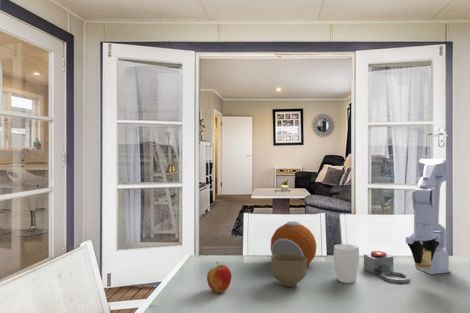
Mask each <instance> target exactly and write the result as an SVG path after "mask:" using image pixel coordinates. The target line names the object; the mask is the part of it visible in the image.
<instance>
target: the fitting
mask: <svg viewBox="0 0 470 313" xmlns="http://www.w3.org/2000/svg"><path fill="white" fill-rule="evenodd" d="M414 267H415V268H416V267H417V268H420V269H427V270H428V269H432V265H431V250H429V249H425V248H424V249H423V253H422V261H421V264H418V263H415V262H414ZM417 268H416V269H417ZM420 269H419V270H420Z"/></svg>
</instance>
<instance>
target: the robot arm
mask: <svg viewBox="0 0 470 313" xmlns="http://www.w3.org/2000/svg"><path fill="white" fill-rule="evenodd" d="M448 171H449V162H448V160H447V158H420V159H419V160H418V172H419V176H420V178H419V179H418V182H417V185H416V188H414V189H412V194H411V195H412V196H411V199H412V200H411V202H412V209H413V210H414V211H413V233H411V235H409V236H406V237H405V243H406V244H407V245H408V248H409V249H410V252H411V255H412V257H413V262H414V264H415V263H418V264H421V261H422V253H423V249H424V248H425V249H429V250H431V265H432V269H428V270H427V269H420V268H417V267H415V269H418V270H419V271H422V272H425V273H427V274H430V275H437V274H444V273H451V272H452V271H451V270H450V264H449V263H450V255H449V252H448V250H447V242H448V241H447V240H448V238H447V236H448V235H447V230H446V228H445V227H444V226H443V225H441V224H440V221H439V219H440V199H441V198H440V197H441V196H440V195H441V187H442V184H443V183H444V182H446V181H447V178H448V173H449V172H448Z"/></svg>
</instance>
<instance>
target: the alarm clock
mask: <svg viewBox="0 0 470 313" xmlns="http://www.w3.org/2000/svg"><path fill="white" fill-rule="evenodd" d="M270 252H271V253H270V254H271V256H272V255H276V254H294V255H300V256H304V257H306V258H307V262H306V268H307V267H308V266H309V265H310V264H311V263H312V261H313V260H314V258H315V256H316V255H317V254H316V253H317V242H316V238H315V235H314V234H313V233H312V231H311V230H310V229H309V228H308V227H306V226H305V225H303V224H301V223H300V222H299V221H287V222H286V223H285V224H283V225H280V226H279V227H278V228H277V229H275V231H274V232H273V235H272V237H271V239H270Z"/></svg>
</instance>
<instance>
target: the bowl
mask: <svg viewBox="0 0 470 313" xmlns="http://www.w3.org/2000/svg"><path fill="white" fill-rule="evenodd" d="M270 259H271V268H270V269H271V273H272V276H273V277H274V278H275V279H276V280H277V281H278V282H279V283H280V284H281V285H282V286H284V287H295V286H297V284H298V283H300V282H301V281H302V280H304V279H305V277H306V275H307V267H306V262H307V258H306V257H304V256H300V255H294V254H276V255H272V254H271V256H270Z"/></svg>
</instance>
